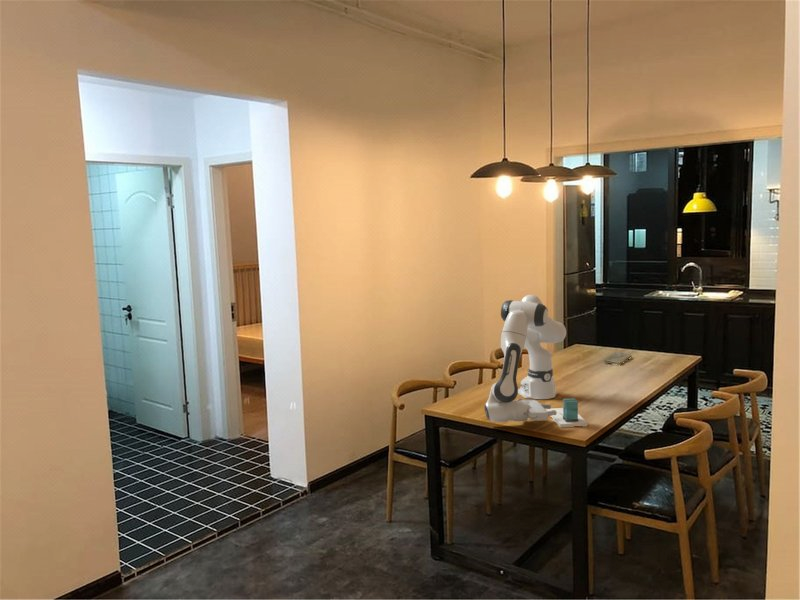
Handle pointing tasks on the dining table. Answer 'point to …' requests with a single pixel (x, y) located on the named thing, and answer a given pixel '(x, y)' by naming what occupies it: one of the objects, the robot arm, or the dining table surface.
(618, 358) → the stone slab
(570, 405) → the block
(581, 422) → the board
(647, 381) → the dining table surface
